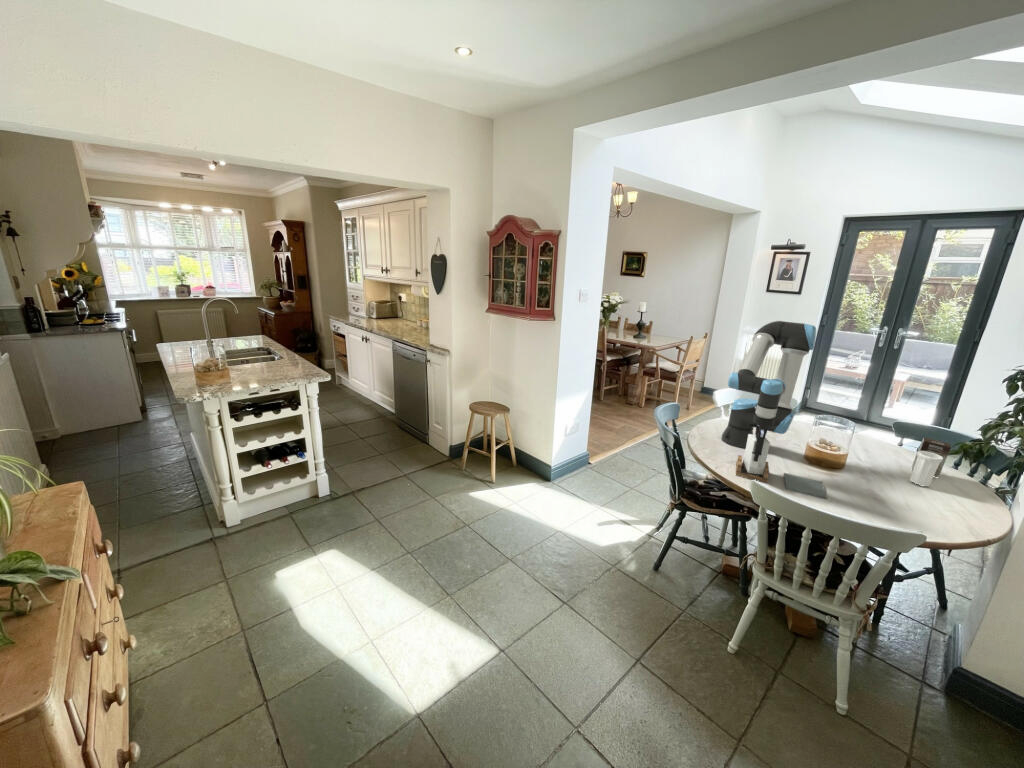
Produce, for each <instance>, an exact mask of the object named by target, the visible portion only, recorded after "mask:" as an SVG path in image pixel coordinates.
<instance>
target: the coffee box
mask: <svg viewBox="0 0 1024 768" xmlns="http://www.w3.org/2000/svg"><path fill="white" fill-rule="evenodd" d="M951 449H952V445H951V443H948V442H945V441H940V440H937V439H934V438H929V437H923V438H922V441H921V443H920V445H919V447H918V450H917V452H918V451H927V452H932V453H935V454H938V455H940V456H942V457H943V460H942V461H941V462H940V464H939V466H938V468H937V470H936V472H935V474H934V476H935V477H939V478H940V475H941V473H942V470H943V468H944V465H945V463H946V460H947V458H948V455H949V453H950V451H951ZM916 459H917V454H916V456H915V458H914V460H913V463H912V465H911V467H912V470H911V472H912V471H913V469H914V466H915V463H916Z"/></svg>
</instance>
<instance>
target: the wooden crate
mask: <svg viewBox="0 0 1024 768" xmlns="http://www.w3.org/2000/svg"><path fill="white" fill-rule="evenodd" d="M742 464H743V456H742V455H740V454H738V455H737V458H736V463H735V474H736V475H735V476H737V475H738V477H741V476H743V477H742V478H745V477H747V478H746V479H749V478H750V480H753V479H756V480H755V481H757V480H759V481H758V482H762V483H765V484H767V483H768V479H769V476H770V475H769V474H770V467H769V461H766V464H765V468H764V473H763V475H761V476H757V475H755V474H751V473H746V472H743V471H742V468H744V466H743V465H742Z"/></svg>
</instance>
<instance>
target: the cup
mask: <svg viewBox="0 0 1024 768" xmlns="http://www.w3.org/2000/svg"><path fill="white" fill-rule="evenodd" d="M916 455H917V459H916V463H915V466H914V469H913V472H912V471H911V472H912V473H911V476H910V479H909V482H911V481H912V482H914V483H916V484H920V485H924V486H930V485H931V483H932V481H933V479H934V478H933V476H934V474H935V472H936V470H937V468H938V466H939V464H940V462H941V461H942V460H943V457H942V456H940V455H938V454H935V453H932V452H927V451H918V450H917V452H916ZM912 482H911V483H912ZM914 483H913V484H914ZM916 484H915V485H916Z"/></svg>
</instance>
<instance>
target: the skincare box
mask: <svg viewBox="0 0 1024 768" xmlns="http://www.w3.org/2000/svg"><path fill="white" fill-rule="evenodd" d="M756 442H757V441H756V435H755V434H754V433H753V434H748V439H747V444H746V448H744V449H745V450H744V454H743V459H742V463H743V464H742V465H743V466H744V467H743V468H744V469H745V471H746V472H747V474H751V475H761V476H762V475H763V473H764V468H765V464H766V462H767V458H768V454H769V451H770V450H769V449H770V445H771V441H769V440H768V438H767V437H765V439H764V444H763V448H762V453H761V455H760V459H759V463H758V467H757V468H754V467H750V464H751V460H752V456H753V453H752V452H754V450H755V445H756Z"/></svg>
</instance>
